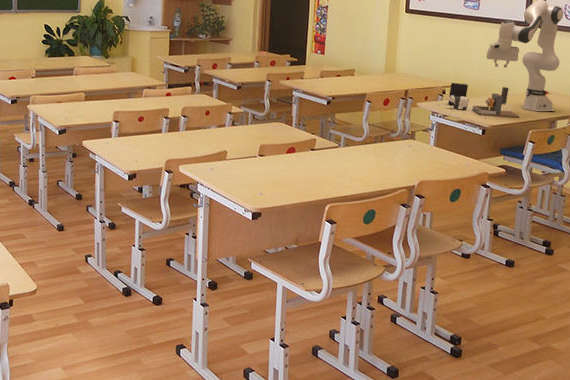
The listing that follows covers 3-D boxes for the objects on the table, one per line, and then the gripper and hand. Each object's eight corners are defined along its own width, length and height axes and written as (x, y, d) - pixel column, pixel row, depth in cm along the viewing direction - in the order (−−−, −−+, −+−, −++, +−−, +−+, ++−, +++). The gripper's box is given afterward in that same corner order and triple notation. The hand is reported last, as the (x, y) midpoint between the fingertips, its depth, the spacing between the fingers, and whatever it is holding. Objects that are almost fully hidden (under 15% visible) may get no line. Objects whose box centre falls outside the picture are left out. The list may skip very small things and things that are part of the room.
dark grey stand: (511, 113, 552) (514, 94, 549) (519, 117, 537) (522, 98, 533) (472, 110, 550) (474, 91, 546) (479, 115, 535) (482, 95, 531)
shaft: (504, 104, 544) (507, 87, 540) (505, 105, 541) (508, 88, 537) (485, 102, 542) (487, 85, 539) (486, 103, 540) (489, 86, 536)
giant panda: (466, 109, 552) (468, 95, 549) (468, 110, 547) (470, 96, 544) (444, 107, 552) (447, 93, 549) (446, 109, 546) (448, 94, 543)
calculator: (464, 105, 564) (467, 84, 560) (464, 106, 560) (467, 85, 556) (448, 104, 565) (451, 82, 561) (448, 105, 561) (451, 83, 557)
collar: (489, 105, 545) (491, 97, 543) (492, 107, 539) (493, 99, 538) (487, 105, 545) (488, 97, 543) (489, 107, 539) (491, 99, 537)
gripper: (518, 46, 535) (514, 67, 538) (487, 44, 533) (484, 65, 537) (521, 47, 529) (517, 69, 532) (490, 45, 527) (487, 66, 531)
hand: (500, 67), depth 535 cm, fingers open, 5 cm apart
